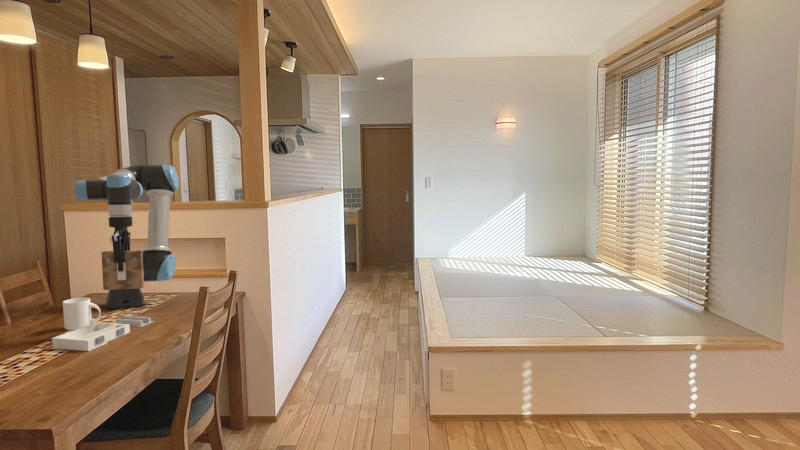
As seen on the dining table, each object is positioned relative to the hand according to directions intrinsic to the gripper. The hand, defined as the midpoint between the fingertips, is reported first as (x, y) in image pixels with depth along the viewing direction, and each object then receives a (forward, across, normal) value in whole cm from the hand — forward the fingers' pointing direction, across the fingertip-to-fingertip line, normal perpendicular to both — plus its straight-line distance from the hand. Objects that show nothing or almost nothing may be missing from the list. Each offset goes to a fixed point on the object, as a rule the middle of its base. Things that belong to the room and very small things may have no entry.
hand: (123, 278), depth 176 cm
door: (+4, 0, 0) cm, 4 cm away
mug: (+19, -6, -16) cm, 26 cm away
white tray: (+19, +12, -7) cm, 24 cm away
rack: (+19, -6, +1) cm, 20 cm away
